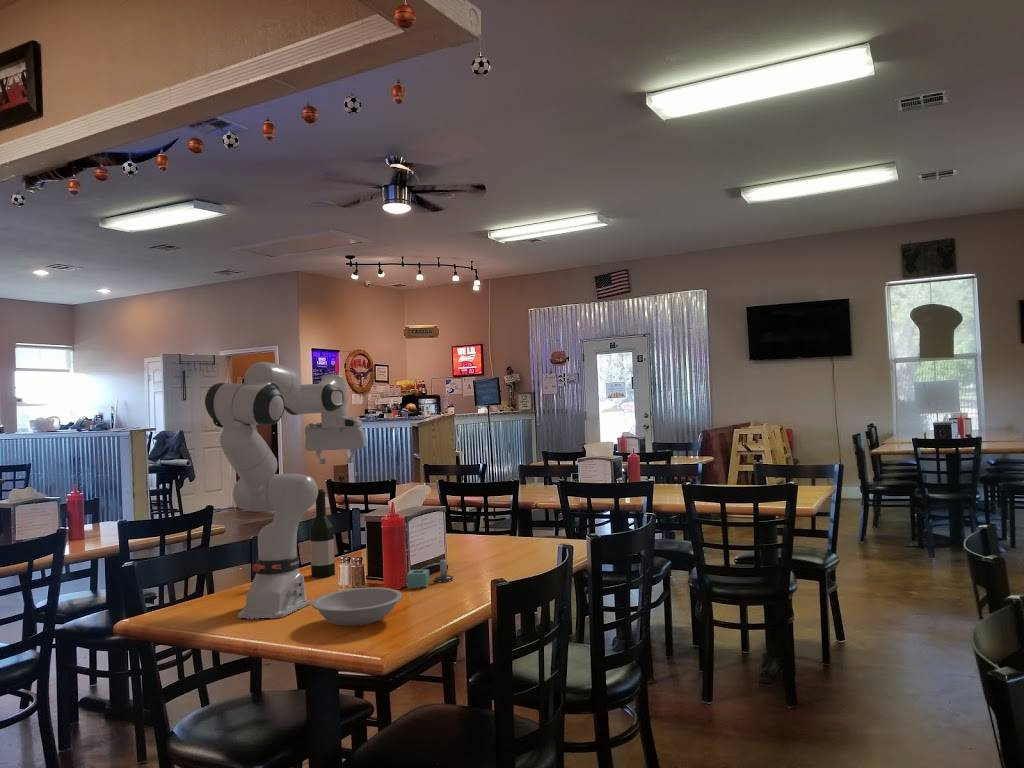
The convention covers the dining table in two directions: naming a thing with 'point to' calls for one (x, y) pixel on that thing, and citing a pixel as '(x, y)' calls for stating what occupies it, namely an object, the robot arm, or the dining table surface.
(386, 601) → the soup bowl
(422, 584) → the teal block
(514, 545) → the dining table surface
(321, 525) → the wine bottle
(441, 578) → the post stand
